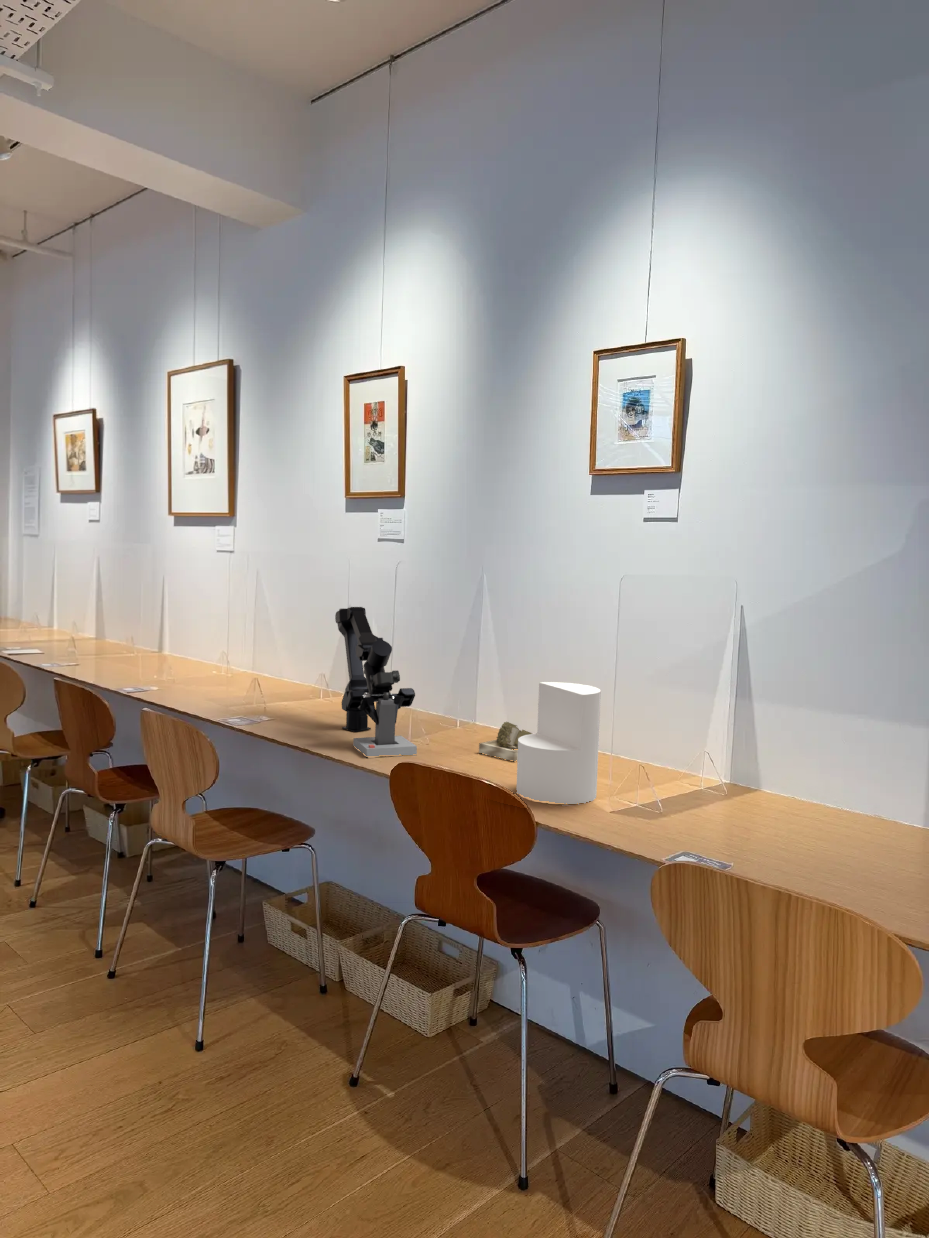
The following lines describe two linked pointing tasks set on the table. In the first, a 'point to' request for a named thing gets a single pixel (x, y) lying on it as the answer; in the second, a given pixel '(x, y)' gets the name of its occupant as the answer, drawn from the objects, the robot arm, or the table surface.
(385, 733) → the plug
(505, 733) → the toy
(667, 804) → the table surface
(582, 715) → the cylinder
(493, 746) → the tray
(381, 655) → the robot arm
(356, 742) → the socket
